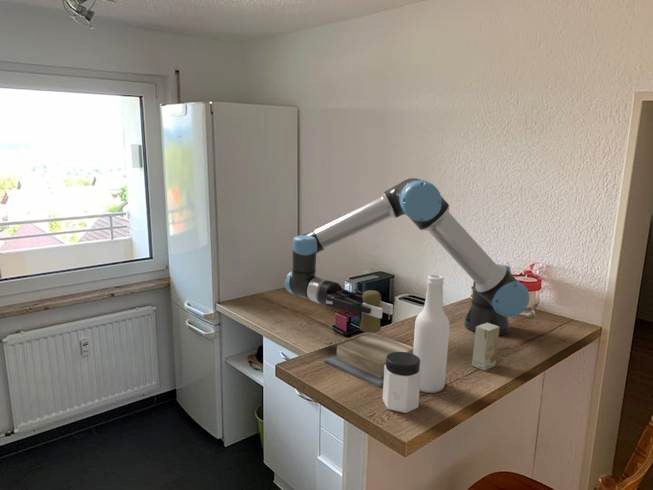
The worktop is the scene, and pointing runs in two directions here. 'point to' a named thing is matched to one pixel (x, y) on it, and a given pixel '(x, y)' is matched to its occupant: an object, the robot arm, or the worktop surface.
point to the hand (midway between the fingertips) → (386, 311)
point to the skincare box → (485, 346)
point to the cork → (368, 321)
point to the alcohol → (432, 338)
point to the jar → (401, 381)
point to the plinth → (366, 356)
